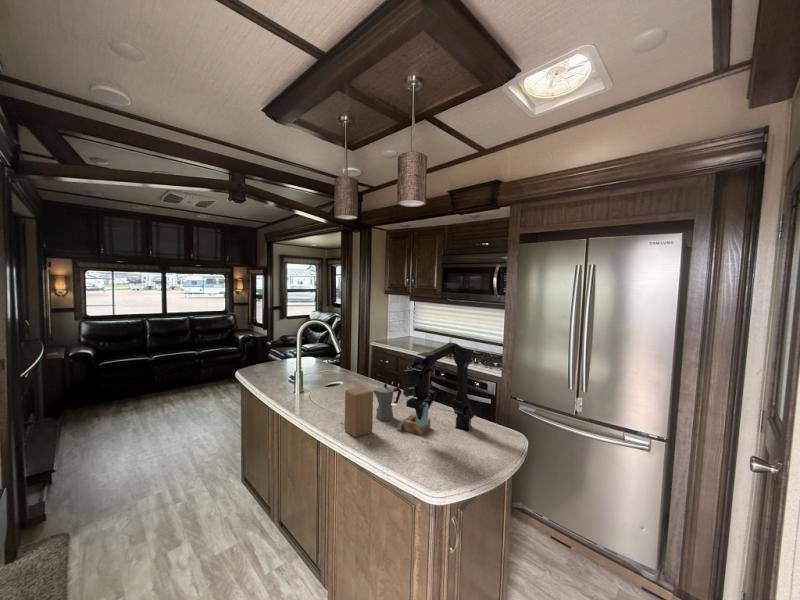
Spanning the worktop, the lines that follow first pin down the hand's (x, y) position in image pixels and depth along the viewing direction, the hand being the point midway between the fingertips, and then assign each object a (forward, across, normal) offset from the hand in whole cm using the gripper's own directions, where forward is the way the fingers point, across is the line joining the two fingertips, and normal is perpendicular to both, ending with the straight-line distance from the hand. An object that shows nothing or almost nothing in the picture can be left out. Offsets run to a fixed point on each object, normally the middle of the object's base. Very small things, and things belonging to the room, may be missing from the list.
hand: (421, 417), depth 140 cm
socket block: (+11, -11, -8) cm, 18 cm away
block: (+12, +7, -30) cm, 33 cm away
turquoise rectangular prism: (+3, 0, 0) cm, 3 cm away
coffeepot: (+12, -14, -28) cm, 33 cm away
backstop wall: (+12, -11, -14) cm, 21 cm away
